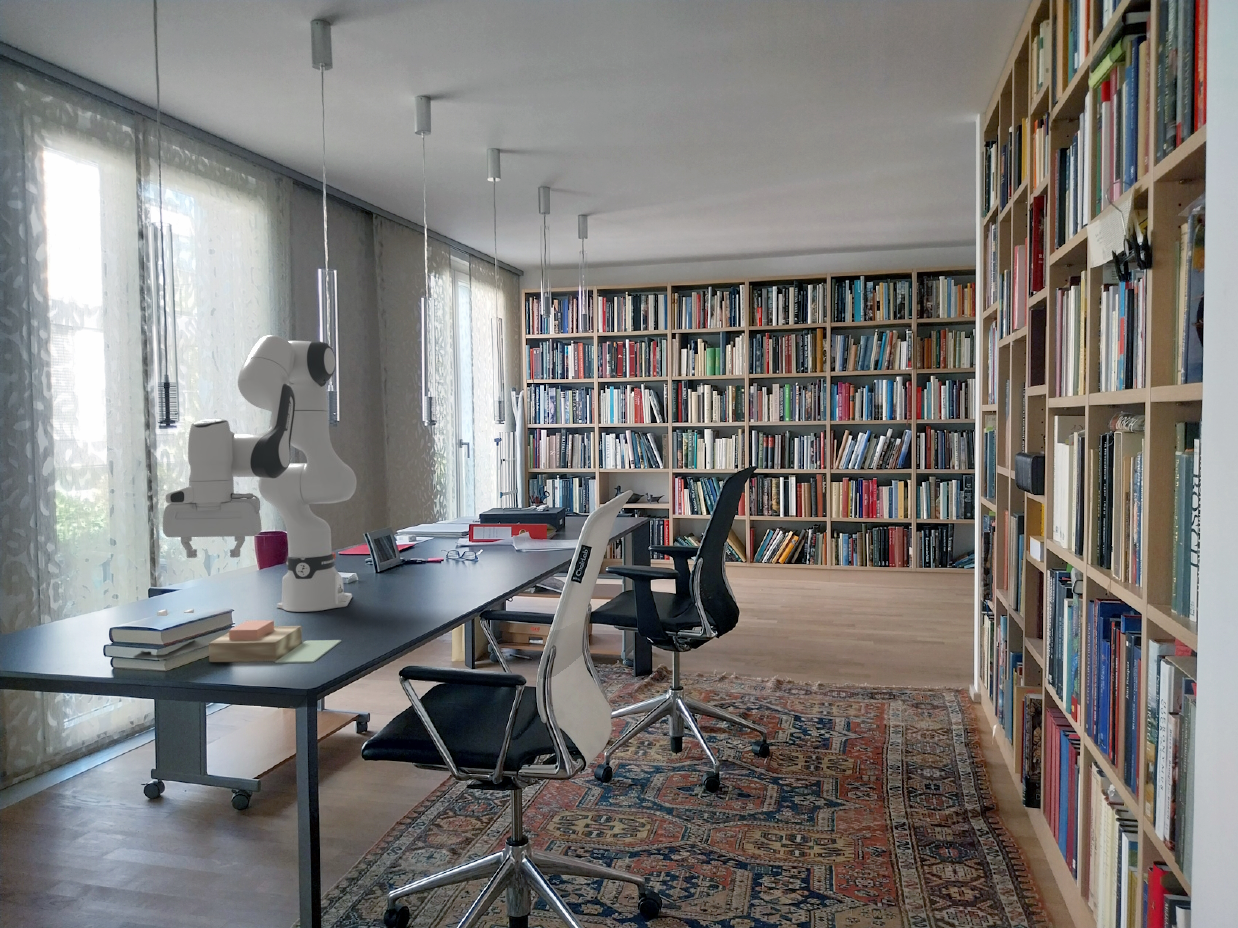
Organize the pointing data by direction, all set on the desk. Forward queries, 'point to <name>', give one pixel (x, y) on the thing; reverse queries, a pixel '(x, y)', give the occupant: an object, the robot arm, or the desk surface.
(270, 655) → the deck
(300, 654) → the mat
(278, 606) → the robot arm
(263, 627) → the terracotta brick
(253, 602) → the desk surface
